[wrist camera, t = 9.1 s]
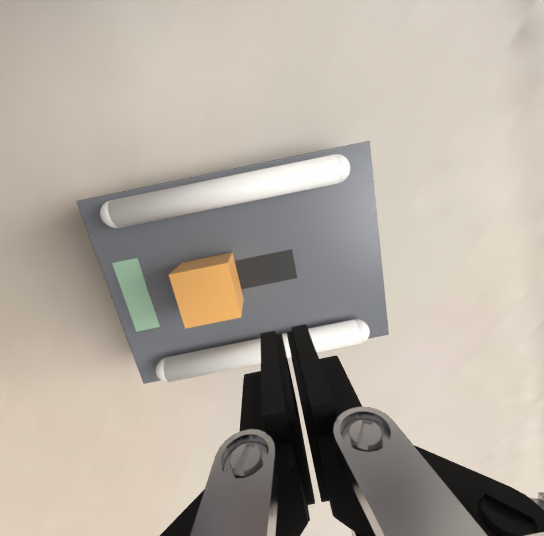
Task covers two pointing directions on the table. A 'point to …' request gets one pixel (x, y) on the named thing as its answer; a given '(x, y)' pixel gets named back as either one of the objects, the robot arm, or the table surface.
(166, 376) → the cord
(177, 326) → the grey slider switch panel
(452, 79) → the table surface
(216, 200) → the cord
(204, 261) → the block
